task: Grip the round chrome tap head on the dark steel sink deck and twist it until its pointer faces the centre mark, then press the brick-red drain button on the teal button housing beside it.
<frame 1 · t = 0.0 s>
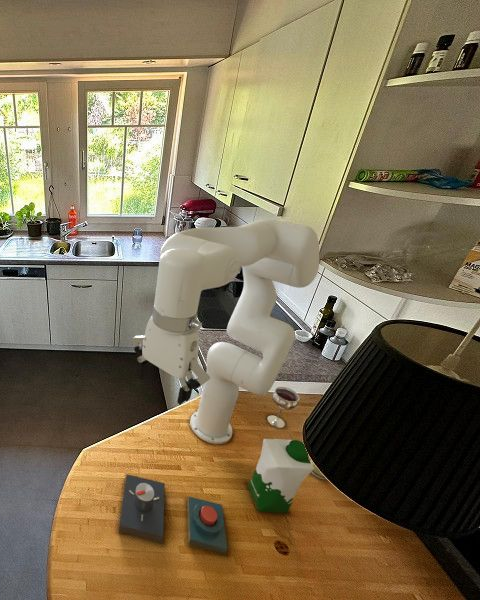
hand: (162, 387, 67), 37 cm above the countertop, tool pointing down, fingers open, 9 cm apart
supplement bottle: (318, 471, 90), on the countertop
milk carton: (266, 498, 84), on the countertop
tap: (144, 497, 78), point 5 cm above the countertop, hinge at -60.0°
teal button housing: (205, 526, 78), on the countertop
sink deck: (142, 509, 81), on the countertop
wineglass: (275, 421, 106), on the countertop
drain button: (208, 515, 76), point 4 cm above the countertop, slide at 0.1 cm
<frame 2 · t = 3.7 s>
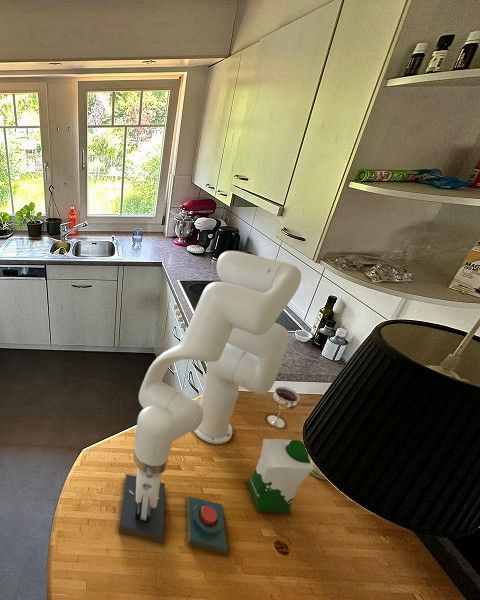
hand: (143, 502, 79), 3 cm above the countertop, tool pointing down, fingers open, 7 cm apart
nothing on the countertop moved.
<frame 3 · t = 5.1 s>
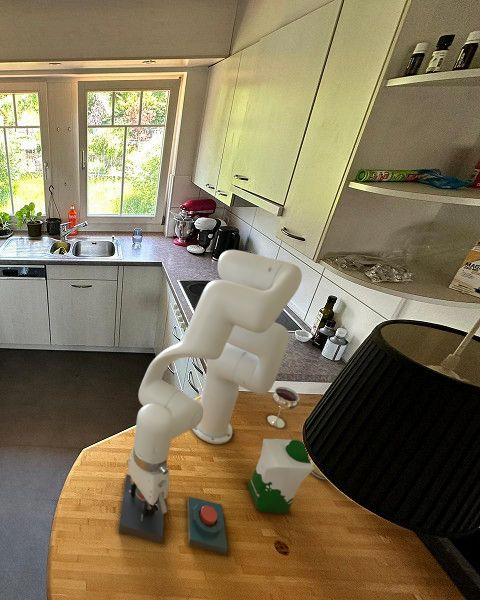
hand: (142, 502, 79), 3 cm above the countertop, tool pointing down, fingers open, 4 cm apart
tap: (144, 497, 78), point 5 cm above the countertop, hinge at -29.6°
everything else where it was.
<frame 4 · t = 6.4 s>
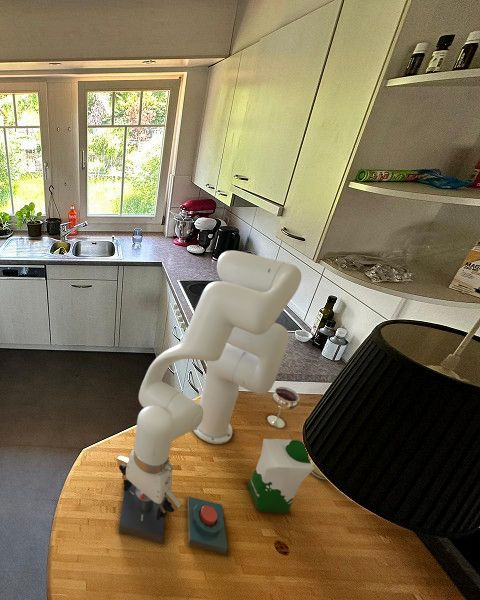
hand: (143, 500, 79), 4 cm above the countertop, tool pointing down, fingers open, 9 cm apart
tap: (144, 497, 78), point 5 cm above the countertop, hinge at -19.2°
everything else where it was.
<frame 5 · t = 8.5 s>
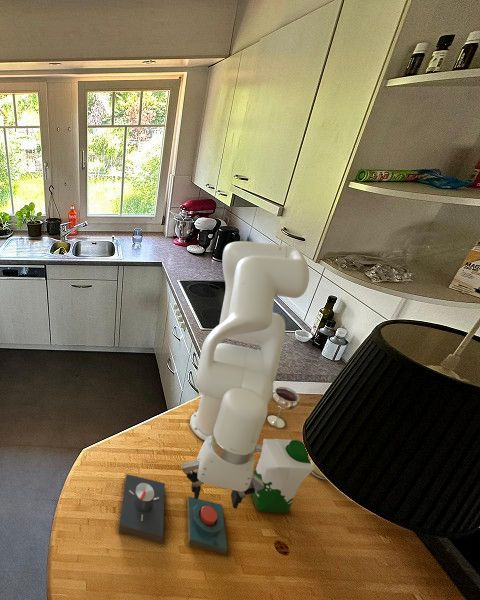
hand: (214, 496, 72), 12 cm above the countertop, tool pointing down, fingers open, 7 cm apart
nothing on the countertop moved.
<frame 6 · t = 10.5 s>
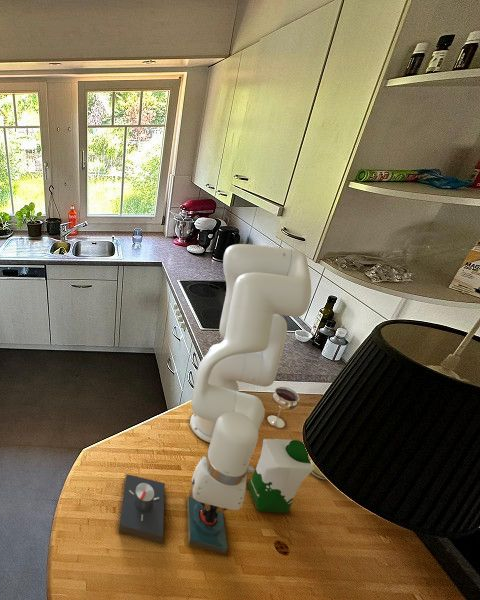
hand: (208, 516, 75), 5 cm above the countertop, tool pointing down, fingers closed
drain button: (207, 517, 76), point 4 cm above the countertop, slide at -0.6 cm, touching gripper
everything else where it was.
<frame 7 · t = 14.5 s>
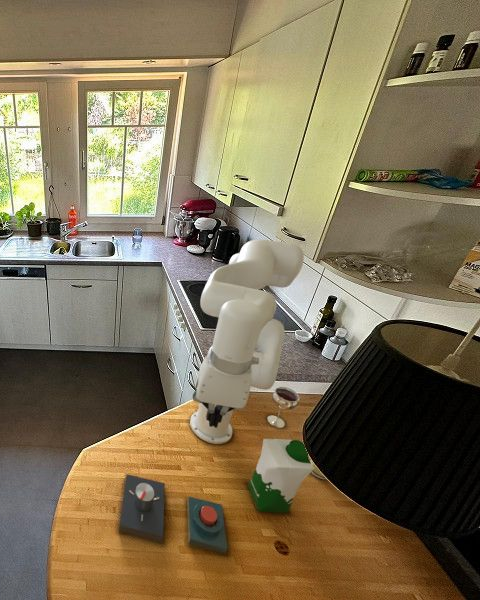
hand: (212, 422, 74), 25 cm above the countertop, tool pointing down, fingers closed
drain button: (208, 515, 76), point 4 cm above the countertop, slide at 0.1 cm
everything else where it was.
at the end: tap at -19° (first picture: -60°); drain button pushed in 1.1 cm at the most during the clip, back to where it started at the end; drain button slide at 0.1 cm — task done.
